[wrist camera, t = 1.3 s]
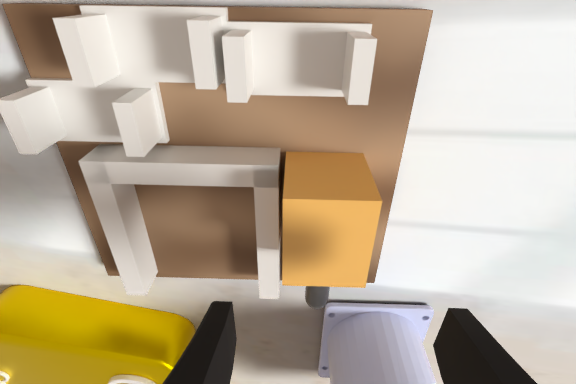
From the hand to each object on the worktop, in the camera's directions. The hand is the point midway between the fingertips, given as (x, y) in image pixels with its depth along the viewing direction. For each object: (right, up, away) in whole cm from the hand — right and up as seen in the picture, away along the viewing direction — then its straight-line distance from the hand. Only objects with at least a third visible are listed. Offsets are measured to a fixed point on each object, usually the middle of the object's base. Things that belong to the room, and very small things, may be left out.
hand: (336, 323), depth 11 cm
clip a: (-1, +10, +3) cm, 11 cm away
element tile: (-18, -10, +18) cm, 27 cm away
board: (-5, +6, +8) cm, 11 cm away
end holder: (-7, +2, +9) cm, 11 cm away
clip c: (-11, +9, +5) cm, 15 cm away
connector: (0, +3, +8) cm, 9 cm away
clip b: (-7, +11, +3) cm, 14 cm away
